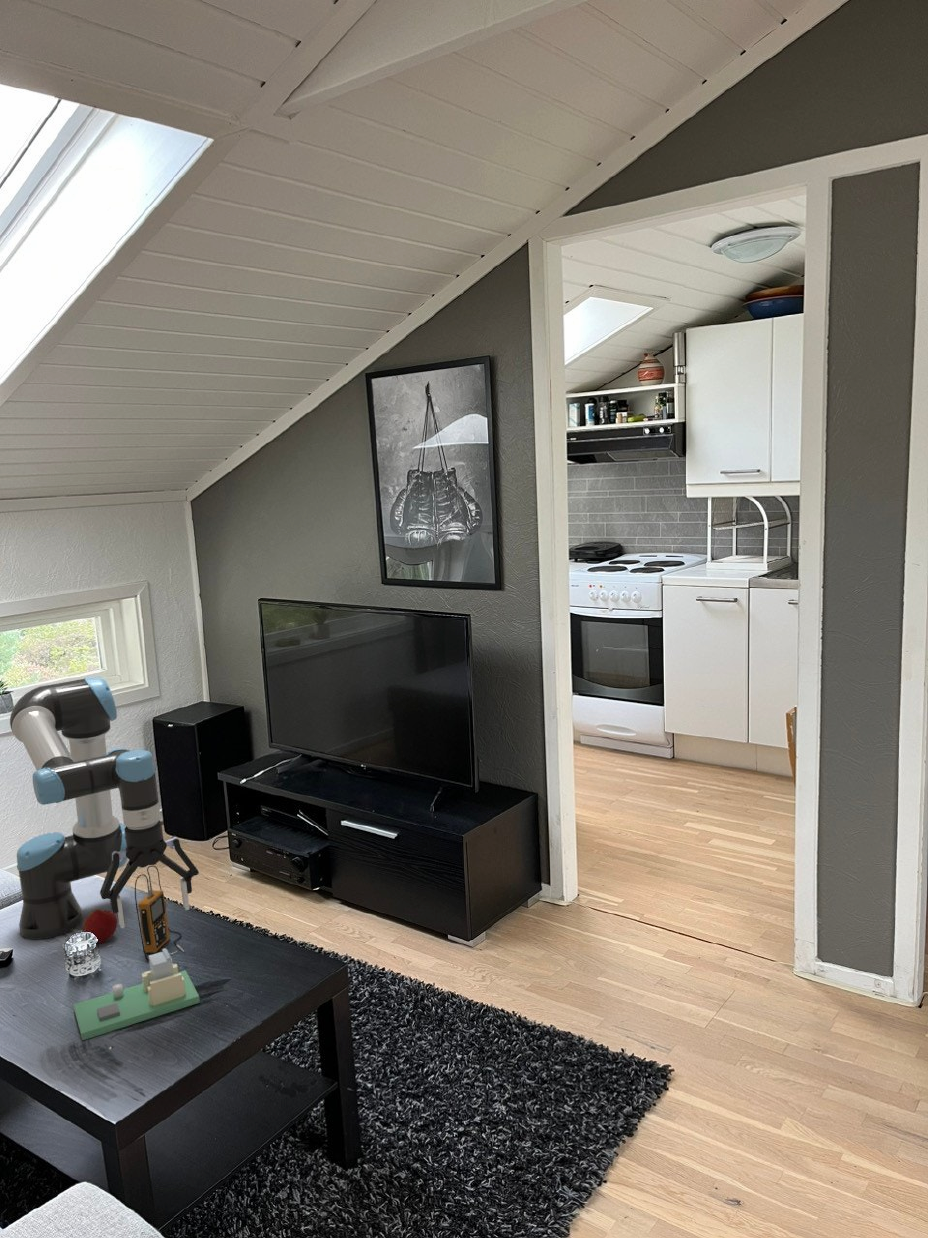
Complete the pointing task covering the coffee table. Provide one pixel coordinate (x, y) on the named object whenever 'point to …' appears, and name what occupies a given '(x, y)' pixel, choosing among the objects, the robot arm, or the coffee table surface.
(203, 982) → the coffee table surface
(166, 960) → the plug
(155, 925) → the multimeter
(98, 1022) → the board
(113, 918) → the apple
